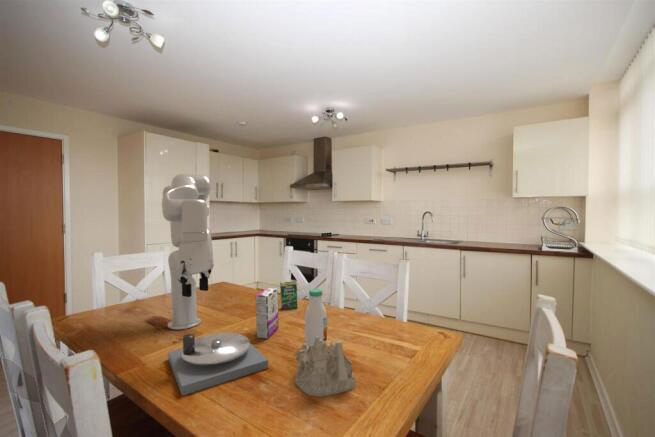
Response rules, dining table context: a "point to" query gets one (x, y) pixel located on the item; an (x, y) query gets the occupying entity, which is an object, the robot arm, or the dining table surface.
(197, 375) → the grey base block
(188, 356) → the handwheel
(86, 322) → the dining table surface
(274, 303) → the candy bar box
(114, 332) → the dining table surface
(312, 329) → the milk bottle
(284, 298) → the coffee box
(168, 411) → the dining table surface
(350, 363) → the grey rough lump
